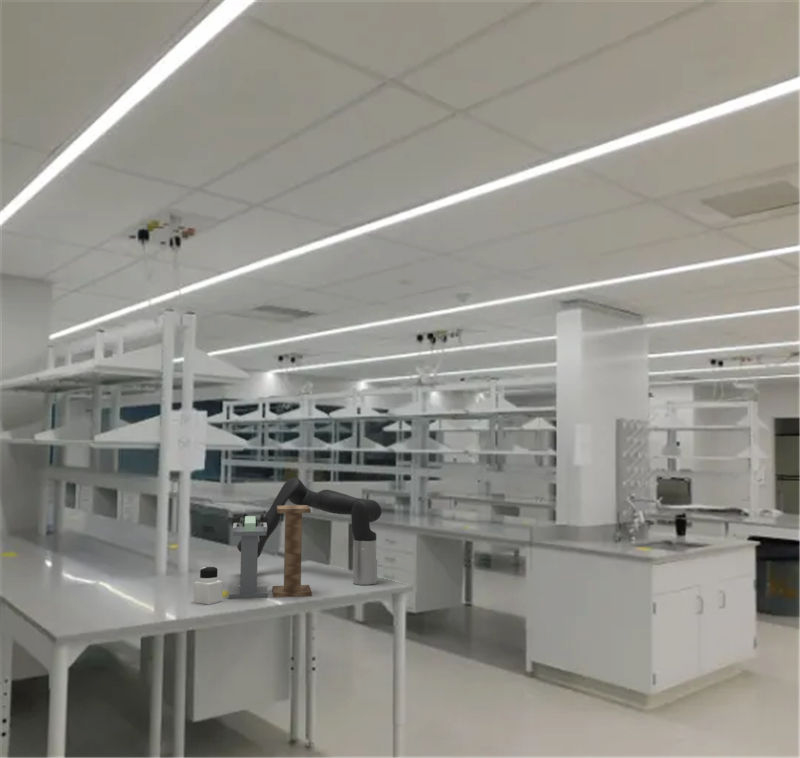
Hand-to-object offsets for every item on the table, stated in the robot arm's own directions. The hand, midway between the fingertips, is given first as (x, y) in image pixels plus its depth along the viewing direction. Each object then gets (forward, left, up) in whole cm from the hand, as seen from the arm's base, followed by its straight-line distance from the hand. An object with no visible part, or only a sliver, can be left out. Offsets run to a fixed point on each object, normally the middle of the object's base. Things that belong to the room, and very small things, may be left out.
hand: (250, 515), depth 288 cm
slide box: (0, +5, -4) cm, 7 cm away
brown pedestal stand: (-16, +10, -28) cm, 34 cm away
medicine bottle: (+14, +21, -28) cm, 38 cm away
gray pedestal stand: (0, +10, -28) cm, 30 cm away
